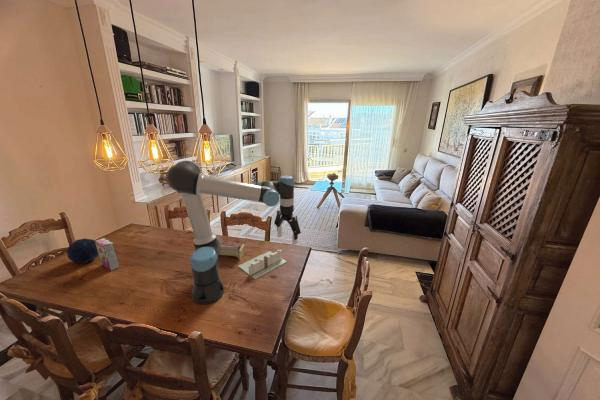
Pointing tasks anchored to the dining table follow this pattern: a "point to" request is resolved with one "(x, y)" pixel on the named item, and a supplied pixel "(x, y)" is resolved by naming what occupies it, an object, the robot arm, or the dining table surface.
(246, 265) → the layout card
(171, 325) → the dining table surface
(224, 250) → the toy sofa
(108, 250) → the candy bar box
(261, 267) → the fence fixed panel
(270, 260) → the fence hinged panel
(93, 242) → the decorative orb
